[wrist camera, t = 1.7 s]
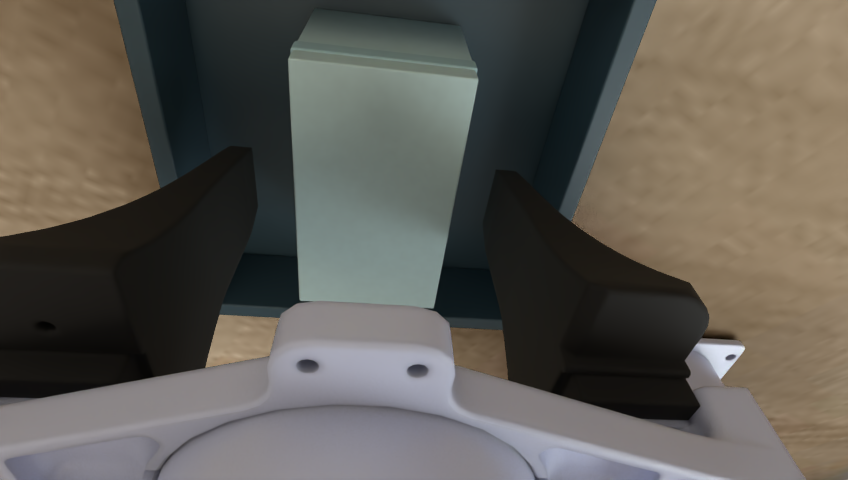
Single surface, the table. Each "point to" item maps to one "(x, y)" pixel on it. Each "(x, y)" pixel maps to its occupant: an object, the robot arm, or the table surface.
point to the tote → (487, 137)
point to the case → (376, 154)
